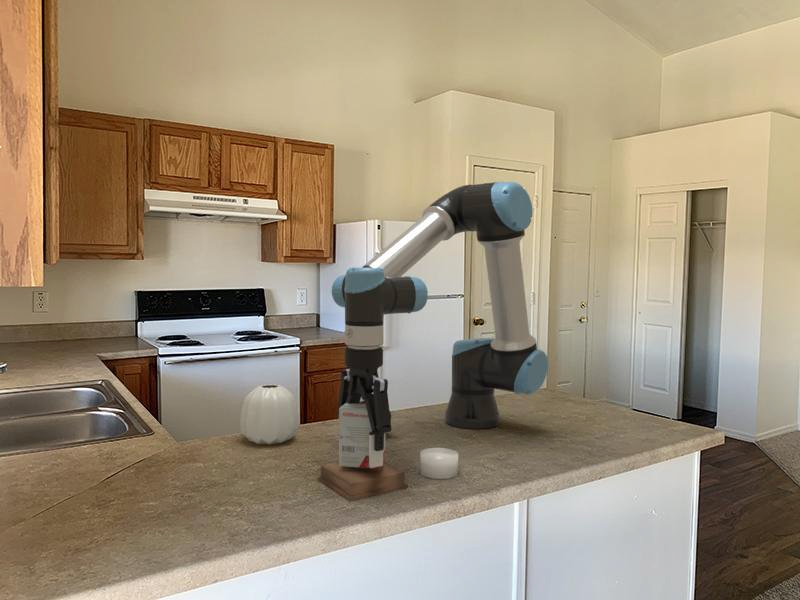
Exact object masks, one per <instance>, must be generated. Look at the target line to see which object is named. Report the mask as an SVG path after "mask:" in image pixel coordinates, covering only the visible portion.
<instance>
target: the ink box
mask: <svg viewBox="0 0 800 600" xmlns="http://www.w3.org/2000/svg"><path fill="white" fill-rule="evenodd" d="M370 432H372V429H371V425H370V421H369V416H368V412H367V408H366V404H357V403H351V404H349V403H345V404H344V405H343V406H341V407H340V408H339V416H338V462H339V466H345V467H358V468H370V467H369V433H370ZM385 462H386V433H384V449H383V465H384V464H385ZM382 467H383V466H379V467H374V468H371V469H381V468H382Z"/></svg>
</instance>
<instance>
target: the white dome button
mask: <svg viewBox="0 0 800 600" xmlns="http://www.w3.org/2000/svg"><path fill="white" fill-rule="evenodd" d="M419 474H421V476H423V477H424V478H425V477H426V478H427V479H428V478H430V479H436V480H446V479H452V478H455V477H457V476H458V474H459V452H458V451H456V450H454V449H451V448H446V447H445V448H444V447H431V448H430V447H429V448H425V449H422V450H421V451H420V452H419Z"/></svg>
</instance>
